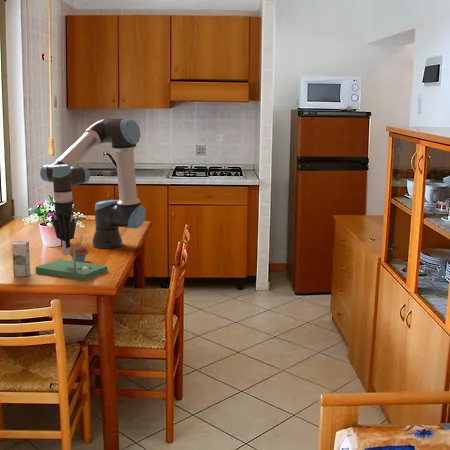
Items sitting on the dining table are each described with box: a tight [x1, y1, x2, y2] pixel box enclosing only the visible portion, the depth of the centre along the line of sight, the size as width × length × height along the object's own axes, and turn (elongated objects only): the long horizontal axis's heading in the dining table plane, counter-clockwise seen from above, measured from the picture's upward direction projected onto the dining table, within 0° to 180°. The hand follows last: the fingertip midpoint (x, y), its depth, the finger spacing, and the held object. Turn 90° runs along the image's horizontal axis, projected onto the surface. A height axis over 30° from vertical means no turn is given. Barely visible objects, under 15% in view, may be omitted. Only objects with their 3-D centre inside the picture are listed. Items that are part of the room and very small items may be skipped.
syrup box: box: [11, 240, 31, 278], centre depth 266 cm, size 6×6×14 cm
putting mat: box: [35, 242, 109, 282], centre depth 272 cm, size 16×26×14 cm, turn 64°
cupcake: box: [68, 235, 89, 263], centre depth 290 cm, size 9×8×12 cm
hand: (66, 254), depth 274 cm, fingers closed
